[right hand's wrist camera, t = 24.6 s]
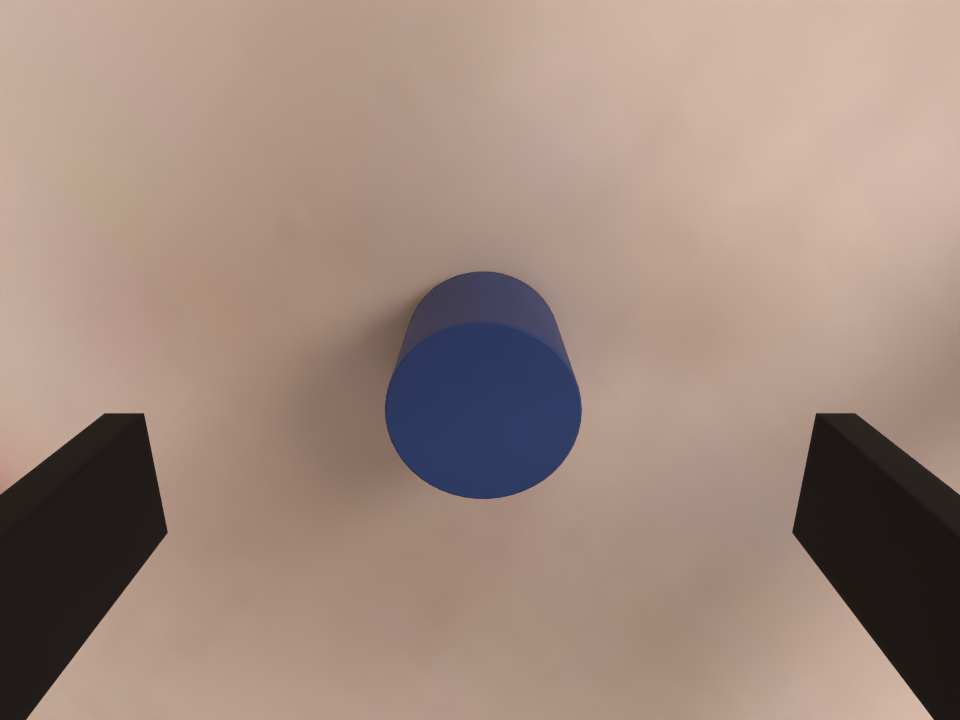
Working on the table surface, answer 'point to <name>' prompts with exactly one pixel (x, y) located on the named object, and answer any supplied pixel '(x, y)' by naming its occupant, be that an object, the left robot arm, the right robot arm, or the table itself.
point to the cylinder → (483, 389)
